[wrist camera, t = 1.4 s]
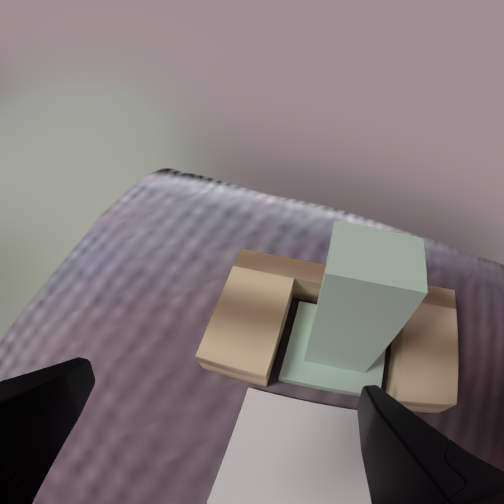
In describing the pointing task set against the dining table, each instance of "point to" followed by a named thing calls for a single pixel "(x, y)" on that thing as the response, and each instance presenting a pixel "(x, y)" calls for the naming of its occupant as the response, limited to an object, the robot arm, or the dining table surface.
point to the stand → (308, 288)
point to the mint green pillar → (356, 309)
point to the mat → (292, 455)
